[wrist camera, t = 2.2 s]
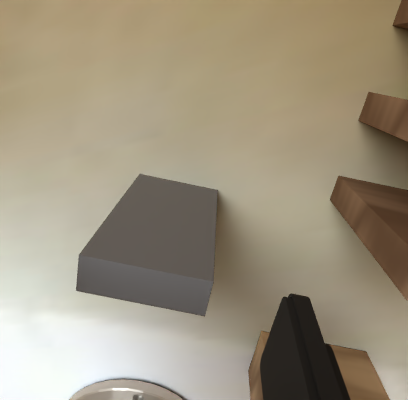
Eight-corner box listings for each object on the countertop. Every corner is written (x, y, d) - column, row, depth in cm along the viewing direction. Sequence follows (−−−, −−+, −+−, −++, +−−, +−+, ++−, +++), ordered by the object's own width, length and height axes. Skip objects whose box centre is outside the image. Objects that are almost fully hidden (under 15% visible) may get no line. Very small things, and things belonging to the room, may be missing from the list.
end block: (347, 390, 28) (378, 472, 22) (248, 370, 28) (254, 449, 22) (366, 351, 26) (404, 429, 21) (261, 331, 26) (272, 404, 20)
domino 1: (212, 212, 23) (204, 316, 14) (136, 197, 23) (75, 291, 13) (217, 190, 22) (213, 281, 13) (139, 174, 22) (79, 255, 13)
